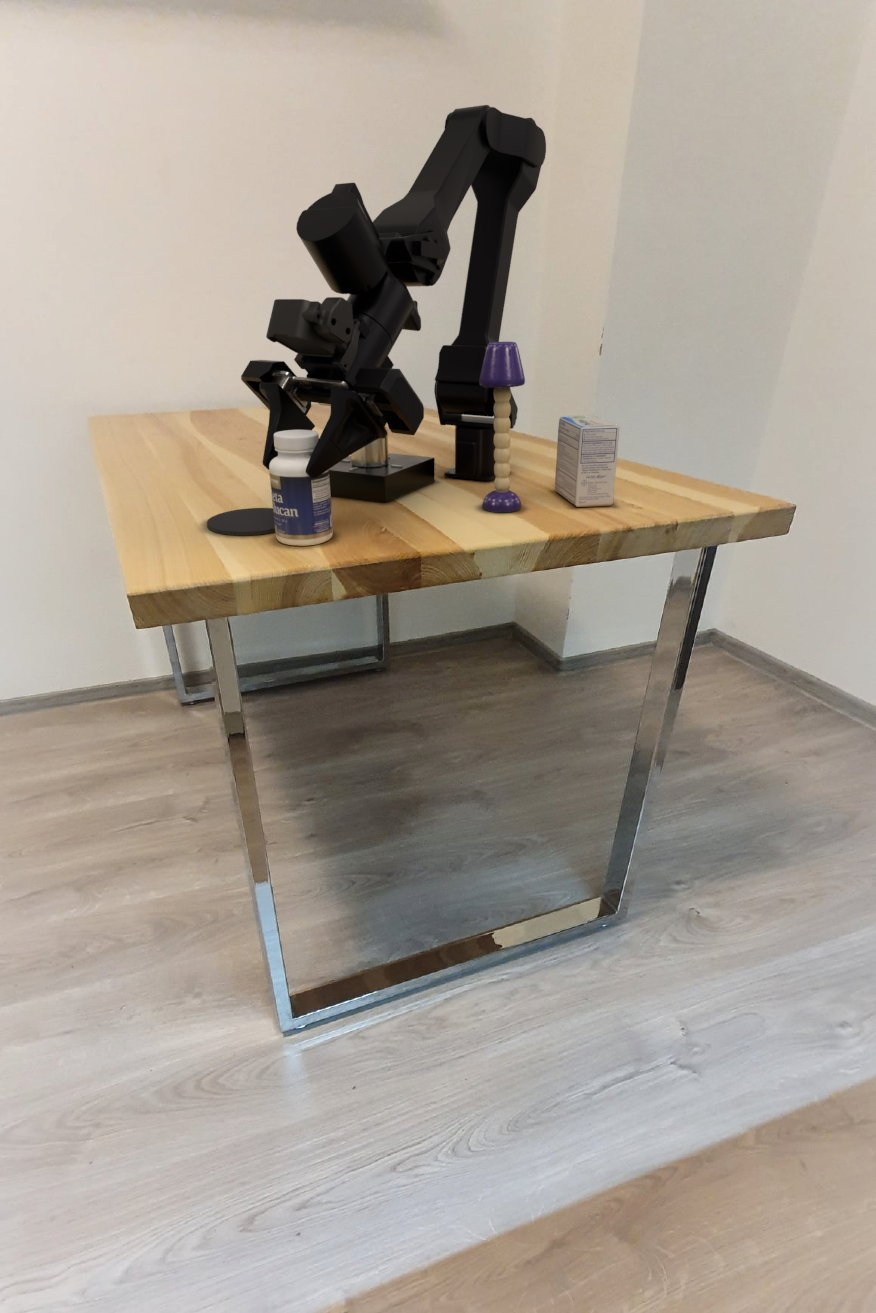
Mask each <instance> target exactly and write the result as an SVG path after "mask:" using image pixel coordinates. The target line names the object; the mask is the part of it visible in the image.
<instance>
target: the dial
mask: <svg viewBox="0 0 876 1313" xmlns="http://www.w3.org/2000/svg"><path fill="white" fill-rule="evenodd" d="M384 428H385V430H386V431H387V433H388V435H387V436H386V437H385V438H384V439H381V438H380V439H377V440H375V441H373V442H372V443H370V444H368V445H366V446H365V447H363V448H361V449H359V450H358V451H356V452H354V453H353V454H351V455H350V456H351V463H352V465H354V466H357V467H381V466H385V465H388V464H389V454H388V453H389V427H388V428H387V427H386V426H385V427H384Z"/></svg>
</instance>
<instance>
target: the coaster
mask: <svg viewBox="0 0 876 1313" xmlns="http://www.w3.org/2000/svg"><path fill="white" fill-rule="evenodd" d="M206 527H207V529H208V530H209V531H211V532H214V533H216V534H221V535H225V536H240V537H241V536H243V537H245V536H260V535H268V534H274V533H276V532H275V523H274V512H273V507H251V508H250V507H249V508H240V509H234V510H233V509H232V510H228V511H223V512H221V513H218V514H215V515H213V516H211V517H210V518H208V519H207V521H206Z"/></svg>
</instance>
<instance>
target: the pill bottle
mask: <svg viewBox="0 0 876 1313" xmlns="http://www.w3.org/2000/svg"><path fill="white" fill-rule="evenodd" d="M319 438H320V436H319V432H318V431H315V430H313V429H312V430H286V431H279V432H276V433H274V447H275V450H276V451H277V452H278V456H277V457H275V458H273V459H272V460H271V462H270V464H269V470H268V472H269V481H270V482H269V483H270V490H271V491H270V492H271V501H272V508H273V512H274V523H275V532H274V533H275V537H276V539H277V541H278V542H279V543H280V544H281V543H282V544H284V545H288V546H289V545H290V546H299V547H300V546H301V547H304V546H315V545H319V544H322V543H326V542H327V541H329V540H330V539H331V538H332V537H333V534H334V528H333V527H334V525H333V510H332V496H331V493H330V478H329V469H328V470H327V471H325V472H324V473H322V474H321V475H319V476H318V477H316V478H311V477H310V476H309V475H308V474H307V473H306V467H307V465H308V462H309V459H310V457H311V455H312V452H313V450H314V448H315V446H316V444H317V442H318V440H319Z"/></svg>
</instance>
